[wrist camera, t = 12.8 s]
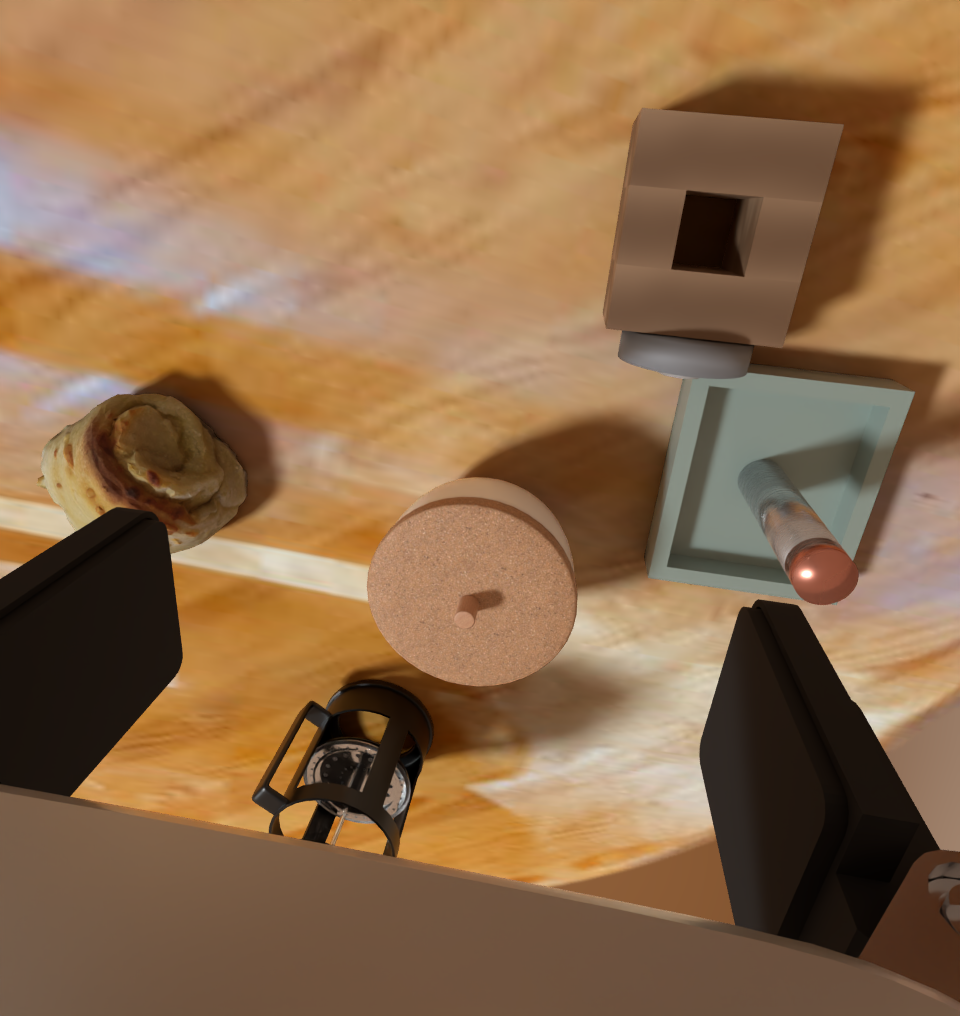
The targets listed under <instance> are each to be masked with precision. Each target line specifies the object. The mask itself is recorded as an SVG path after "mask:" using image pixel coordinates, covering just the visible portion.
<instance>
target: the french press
mask: <svg viewBox="0 0 960 1016" xmlns="http://www.w3.org/2000/svg"><path fill="white" fill-rule="evenodd" d="M349 711H367V712H372V713H376V714H380V715H383V716H385V717H387V718H390V719H389V722H388V724H387V727H386V730H385V732H384V735H383V738H382V740H381V743H380V744H379V743H376V742H373V741H371V740H367V739H363V738H357V737H345V736H344V735H343V733H342V731H341V728H340V723H339V717H340V714H341V713H345V712H349ZM305 718H306V719H307V720H309V721H310V722H311V723H313V724H314V725H316V726H317V727H319V728H318V730H317V732H316V733H315V735H314V737H313V739H312V741H311V743H310V745H309V747H308V749H307V751H306V753H305V755H304V757H303V759H302V761H301V763H300V765H299V767H298V769H297V771H296V773H295V775H294V777H293V779H292V781H291V783H290V784H289V786H288V788H287V790H286V792H285V794H284V796H283V795H281V794H280V793H278V792H277V791H275V790H274V789H272V788H271V787H270V786H269V783H270V781H271V779H272V777H273V776H274V774H275V772H276V770H277V768H278V766H279V765H280V763H281V761H282V759H283V757H284V755H285V754H286V752H287V750H288V748H289V746H290V744H291V743H292V741H293V739H294V737H295V735H296V733H297V732H298V730H299V728H300V726H301V724H302V723H303V721H304V719H305ZM407 733H409V734H410V735H411V736H412V737H413V739H414V741H415V742H416V743H415V745H414V746H413V748H412V749H411V750H410V751H408V752H407V753H405V754H403V755H401V756H400V754H401V751H402V748H403V745H404V742H405V739H406V736H407ZM433 736H434V731H433V723H432V720H431V717H430V715H429V713H428V711H427V709H426V708H425V706H424V705H423V704H422V703H421V702H420V700H418V699H417V698H416V697H415V696H414V695H413V694H412V693H410V692H408V691H407V690H405V689H403V688H402V687H399V686H397V685H394V684H392V683H388V682H384V681H378V680H362V681H357V682H353V683H350V684H348V685H346V686H344V687H342V688H341V689H339V690H338V691H337V692H336V693H335V694H334V695H333V696H332V698H331V699H330V700H329V702H328V705H327V707H326V709H324V708H323V707H322V706H320V705H319V704H317V703H316V702H314V701H310V702H309V703H308V704H307V705H306V706H305V707H304V708H303V709H302V710H301V711H300V712H299V714H298V715H297V717H296V719H295V721H294V722H293V724H292V726H291V728H290V729H289V731H288V733H287V735H286V737H285V738H284V740H283V742H282V744H281V745H280V747H279V749H278V751H277V752H276V754H275V756H274V758H273V760H272V761H271V763H270V765H269V767H268V768H267V770H266V772H265V774H264V775H263V777H262V779H261V781H260V783H259V784H258V786H257V788H256V790H255V791H254V794H253V796H252V800H253V801H254V802H255V803H256V804H258V805H259V806H261V807H262V808H264V809H265V810H267V811H268V812H270V813H271V814H273V815H274V816H273V818H272V820H271V823H270V826H269V834H274V835H280V836H284V835H283V833H282V831H281V828H280V823H279V813H280V812H281V811H283V810H284V809H285V808H287V807H289V806H291V805H293V804H295V803H299V802H304V801H313V800H316V802H317V803H318V804H317V806H316V809H315V811H314V813H313V815H312V818H311V820H310V822H309V824H308V827H307V829H306V831H305V833H304V836H303V838H302V839H301V840H306V841H312V842H317V843H322V844H327V845H333V846H335V843H336V841H337V838H338V836H339V833H340V830H341V828H342V825H343V823H344V820H349V821H353V822H357V823H376V824H377V826H378V827H379V828H380V829H381V830H382V831H383V832H384V834H385V836H386V837H387V839H388V840H387V843H386V846H385V850H384V853H383V855H386V856H391V857H397V854H398V850H399V845H400V837H401V834H402V830H403V827H404V823H405V820H406V816H407V813H408V810H409V806H410V803H411V799H412V796H413V792H414V789H415V785H416V782H417V778H418V776H419V774H420V772H421V770H422V766H423V763H424V759H425V756H426V754H427V753H428V751H429V749H430V747H431V745H432V740H433ZM302 776H304V782H305V785H304V786H301V787H299V788H297V786H298V784H299V782H300V780H301V778H302ZM336 816H338V817H340V820H339V822H338V825H337V827H336V830H335V832H334V835H333V837H332V840H331V842H330V844H328V843H325V841H326V839H327V837H328V834H329V832H330V829H331V827H332V824H333V822H334V819H335V817H336ZM393 818H394V820H393Z"/></svg>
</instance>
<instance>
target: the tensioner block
mask: <svg viewBox="0 0 960 1016" xmlns="http://www.w3.org/2000/svg"><path fill="white" fill-rule="evenodd" d="M843 127H844V124H833V123H821V122H808V121H796V120H783V119H771V118H759V117H746V116H734V115H722V114H709V113H697V112H684V111H672V110H660V109H647V108H642V109H641V111H640V113H639V115H638V116H637V118H636V120H635V121H634V123H633V127H632V133H631V140H630V146H629V152H628V158H627V165H626V171H625V177H624V184H623V190H622V196H621V202H620V209H619V215H618V221H617V227H616V234H615V240H614V246H613V253H612V259H611V265H610V271H609V278H608V284H607V290H606V296H605V303H604V309H603V316H604V320H605V325H606V329H615V330H622V334H621V340H620V346H619V352H618V357H619V358H620V359H621V360H623V361H625V362H627V363H629V364H632V365H635V366H638V367H641V368H645V369H649V370H653V371H657V372H659V373H661V374H663V375H666V376H670V377H675V378H682V379H699V378H706V379H734V378H740V377H744V376H745V375H746V374H747V372H748V368H749V364H750V360H751V356H752V352H753V348H754V345H759V346H768V347H777V348H783V345H784V341H785V338H786V334H787V330H788V327H789V323H790V319H791V316H792V312H793V308H794V305H795V301H796V298H797V294H798V290H799V287H800V283H801V279H802V276H803V272H804V269H805V265H806V261H807V258H808V254H809V250H810V247H811V243H812V240H813V236H814V232H815V229H816V225H817V221H818V218H819V214H820V210H821V207H822V203H823V200H824V196H825V192H826V189H827V185H828V181H829V178H830V174H831V171H832V167H833V163H834V160H835V156H836V152H837V149H838V145H839V141H840V138H841V134H842V131H843ZM686 195H692V196H703V197H714V198H725V199H736V200H737V201H736V205H735V209H734V214H733V218H732V223H731V227H730V232H729V236H728V240H727V245H726V249H725V254H724V258H723V263H722V267H721V268H716V267H706V266H696V265H686V264H677V263H672V262H673V257H674V252H675V247H676V242H677V236H678V231H679V226H680V221H681V216H682V211H683V206H684V201H685V196H686Z"/></svg>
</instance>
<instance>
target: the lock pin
mask: <svg viewBox="0 0 960 1016" xmlns="http://www.w3.org/2000/svg"><path fill="white" fill-rule="evenodd" d="M738 488H739V490H740V492H741V494H742V495H743V497H744V499H745V501H746V503H747V504H748V506H749V508H750V510H751V512H752V513H753V515H754V517H755V519H756V521H757V522H758V524H759V526H760V528H761V530H762V531H763V533H764V535H765V537H766V539H767V540H768V542H769V544H770V546H771V548H772V549H773V551H774V553H775V555H776V557H777V558H778V560H779V562H780V564H781V566H782V567H783V569H784V571H785V573H786V575H787V576H788V578H789V580H790V582H791V584H792V585H793V587H794V589H795V591H796V592H797V594H798V595H799V596H800V597H801V598H802V599H803V600H805V601H807V602H809V603H812V604H817V605H827V604H833V603H836V602H838V601H841V600H842V599H844V598H846V597H847V596H848V595H849V594H850V593H851V592H852V591H853V590H854V588H855V587H856V585H857V582H858V577H859V575H858V569H857V567H856V565H855V563H854V562H853V561H852V559H851V558H850V557H849V555H848V554H847V553H846V551H845V550H844V549H843V548H842V546H841V545H840V544H839V542H838V541H837V540H836V538H835V537H834V536H833V535H832V533H831V532H830V531H829V529H828V528H827V527H826V525H825V524H824V523H823V522H822V520H821V519H820V518H819V516H818V515H817V514H816V512H815V511H814V510H813V508H812V507H811V506H810V505H809V503H808V502H807V501H806V499H805V498H804V497H803V495H802V494H801V493H800V492H799V490H798V489H797V488H796V486H795V485H794V484H793V482H792V481H791V480H790V478H789V477H788V476H787V475H786V473H785V472H784V471H783V469H782V468H781V467H780V466H779V465H778V464H777V463H775V462H773V461H771V460H766V459H762V460H756V461H753V462H751V463H749V464H748V465H746V466H745V467H744V468H743V469H742V471H741V472H740V474H739V477H738Z"/></svg>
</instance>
